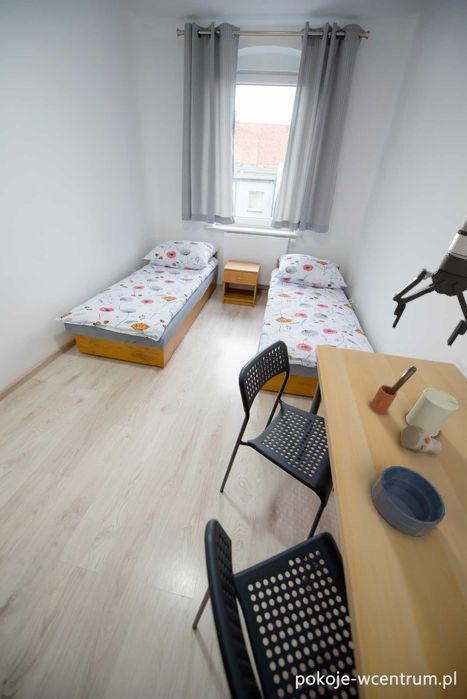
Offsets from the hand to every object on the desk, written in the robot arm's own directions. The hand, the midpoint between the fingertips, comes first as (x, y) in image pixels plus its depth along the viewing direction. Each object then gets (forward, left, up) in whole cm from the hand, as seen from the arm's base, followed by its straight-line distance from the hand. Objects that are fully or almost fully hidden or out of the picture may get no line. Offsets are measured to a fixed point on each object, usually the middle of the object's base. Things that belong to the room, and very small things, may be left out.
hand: (420, 334), depth 76 cm
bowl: (-9, +32, -29) cm, 44 cm away
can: (-13, -1, -29) cm, 32 cm away
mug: (-12, +10, -29) cm, 33 cm away
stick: (0, 0, -28) cm, 28 cm away
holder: (0, 0, -29) cm, 29 cm away
